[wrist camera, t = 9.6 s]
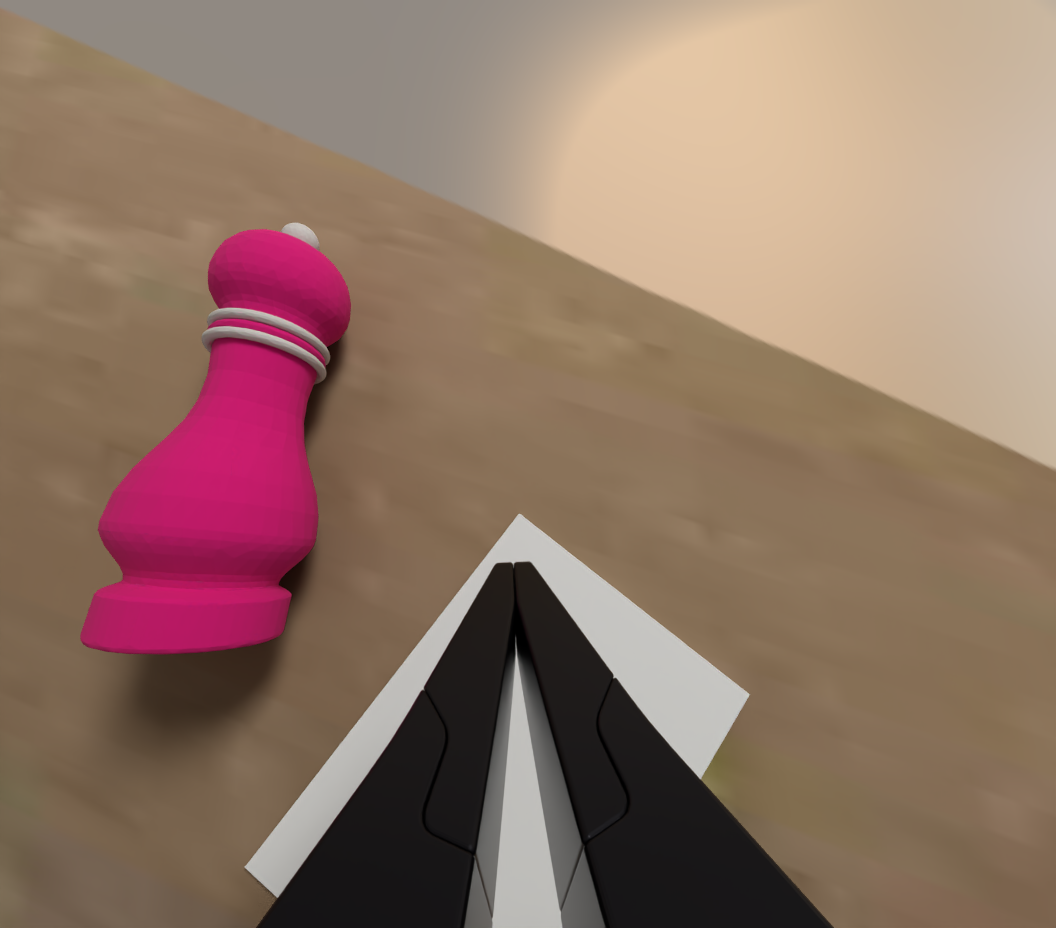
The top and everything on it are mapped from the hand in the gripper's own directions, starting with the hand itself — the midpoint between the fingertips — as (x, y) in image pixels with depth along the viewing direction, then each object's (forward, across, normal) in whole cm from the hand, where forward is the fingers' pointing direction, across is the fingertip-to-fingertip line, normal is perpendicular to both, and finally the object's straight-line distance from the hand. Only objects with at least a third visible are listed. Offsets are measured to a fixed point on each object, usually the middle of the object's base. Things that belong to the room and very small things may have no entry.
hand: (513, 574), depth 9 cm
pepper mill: (+4, -13, -8) cm, 15 cm away
